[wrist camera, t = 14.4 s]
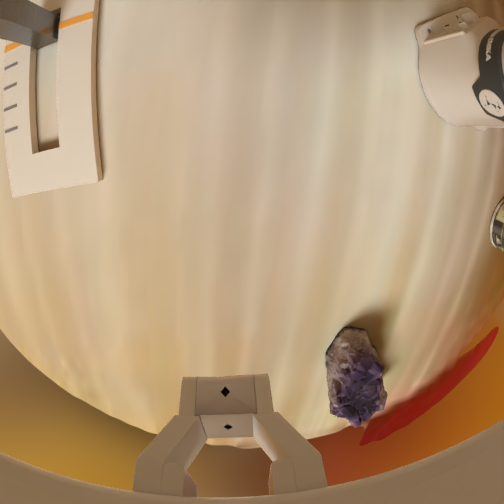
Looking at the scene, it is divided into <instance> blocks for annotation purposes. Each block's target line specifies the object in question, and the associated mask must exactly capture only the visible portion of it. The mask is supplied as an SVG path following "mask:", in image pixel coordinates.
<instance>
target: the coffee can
mask: <svg viewBox="0 0 504 504" xmlns="http://www.w3.org/2000/svg"><path fill="white" fill-rule="evenodd" d="M490 240H491V243H492V244H493V246H494V247H496V248H498V249H500V250H501V251H503V252H504V199H502V200H501V201H500V203H499V204H498V205H497V207H496V209H495V211H494V213H493V216H492V220H491V224H490Z"/></svg>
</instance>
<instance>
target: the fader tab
mask: <svg viewBox="0 0 504 504" xmlns="http://www.w3.org/2000/svg"><path fill="white" fill-rule="evenodd" d="M59 23H60V17H59V16H57V15H56V14H54V13H52V12H50V11H48V10H46V9H44V8H43V7H41V6H39V5H37V4H35V3H33V2H31V1H29V0H0V39H4V40H8V41H12V42H16V43H20V44H23V45H27V46H30V47H33V48H37V49H39V48H42V47H44V46H47V45H49V44H52V43H55V42H57V41H58V33H59V29H58V28H59Z"/></svg>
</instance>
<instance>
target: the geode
mask: <svg viewBox="0 0 504 504" xmlns="http://www.w3.org/2000/svg"><path fill="white" fill-rule="evenodd" d="M326 368H327V382H328V389H329V392H328V396H329V399H330V414H333V415H335V416H337V418H338V417H341V418H346V419H348V420H349V422H350V423H351V425H352V426H354V427H357V426H360V425H361V422H362V421H366V420H368V419H369V418H370V417H371V416H372V415H373V414H374V413H375V412H376V411H381V410H383V409H384V407H385V403H386V399H387V392H386V391H385V390H384V386H383V379H382V374H383V369H384V365H382V363H381V362H380V360H379V359H378V355H377V350H376V348H375V347H372V346H371V343H370V340H369V338H368V335H367V333H366V331H365V330H364V329H361V328H355V327H352V326H350V327H344V328H343V329H342V330H341V331H340V332H339V333H338V334H337V335H336V337H335V339H334V340H333V342H332V343H331V345H330V346H329V348H328V349H327V352H326Z"/></svg>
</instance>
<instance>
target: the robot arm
mask: <svg viewBox="0 0 504 504" xmlns="http://www.w3.org/2000/svg"><path fill="white" fill-rule="evenodd" d="M428 31H429V32H428ZM415 34H416V38H417V42H418V45H419V63H418V64H419V75H420V80H421V84H422V87H423V90H424V92H425V94H426V97H427V99H428V100H429V102H430V104H431V105H432V107H433V108H434V110H435V111H436V112H437V113H438V114H439V115H440V116H441V117H442V118H443V119H444V120H445V121H447V122H448V123H450V124H452V125H455V126H471V127H473V128H475V129H477V130H479V131H485V130H487V128H488V127H500V128H504V29H503V28H502V27H501V25H500V24H499V23H498V22H497V21H495V20H494V19H493V18H491V17H481V18H480V17H479V16H478V15H477V14H476V13H475V12H474V11H472V10H471V9H470V8H468V7H464V8H460V9H457V10H455V11H452V12H450V13H447V14H445V15H442V16H440V17H437V18H435V19H432V20H430V21H428V22H425V23H423V24H421V25H419V26H417V27H416V28H415ZM228 437H254V439H255V440H256V441H257V443H258V444H259V445H260V446H261V448H262V449H263V450H264V451H265V453H266V454H267V455H268V456H269V457H270V458H271V460H272V461H273V463H272V464H271V469H270V477H269V491H270V495H267V496H254V497H231V498H205V497H203V498H202V497H197V485H196V483H195V482H194V480H193V479H192V478H191V476H190V475H189V473H188V472H187V469H188V467H189V466H190V464H191V463H192V461H193V460H194V458H195V457H196V456H197V454H198V453H199V451H200V450H201V448H202V447H203V445H204V444H205V442H206V441H207V438H228ZM0 504H504V419H503V420H501V421H500V422H498V423H496V424H495V425H493V426H491V427H489V428H488V429H486V430H484V431H482V432H480V433H478V434H477V435H475V436H473V437H471V438H469V439H467V440H465V441H463V442H461V443H459V444H457V445H455V446H452V447H450V448H448V449H446V450H444V451H441V452H439V453H437V454H434V455H432V456H430V457H427V458H425V459H422V460H420V461H417V462H414V463H411V464H409V465H406V466H403V467H400V468H397V469H394V470H391V471H388V472H385V473H381V474H378V475H375V476H371V477H367V478H364V479H360V480H356V481H352V482H348V483H343V484H339V485H334V486H329V487H328V486H327V481H326V476H325V472H324V467H323V463H322V458H321V454H320V453H319V452H318V451H317V450H316V449H315V448H314V447H313V446H312V445H311V444H310V443H309V442H308V441H307V440H306V439H305V438H304V437H303V436H302V435H301V434H300V433H299V432H298V431H296V430H295V429H294V428H293V427H292V426H291V425H290V424H289V423H288V422H287V421H286V420H285V419H284V418H283V417H282V416H281V415H280V413H279V412H274V410H273V403H272V396H271V388H270V381H269V376H268V374H257V375H253V374H252V375H238V376H225V377H183V380H182V386H181V396H180V407H179V415H175V416H174V417H173V418H172V419H171V420H170V421H169V423H168V424H167V425H166V426H165V427H164V428H163V429H162V431H161V432H160V433H159V434H158V435H157V436H156V437H155V438H154V440H153V441H152V442H151V443H150V444H149V445H148V446H147V448H146V449H145V450H144V451H143V452H142V453H141V454H140V455H139V456H138V457H137V461H136V469H135V476H134V484H133V491H128V490H122V489H117V488H112V487H107V486H102V485H97V484H92V483H89V482H85V481H81V480H77V479H73V478H69V477H66V476H63V475H59V474H56V473H53V472H50V471H47V470H44V469H41V468H38V467H36V466H33V465H30V464H28V463H25V462H22V461H20V460H17V459H15V458H13V457H10V456H8V455H6V454H3V453H1V452H0Z"/></svg>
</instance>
